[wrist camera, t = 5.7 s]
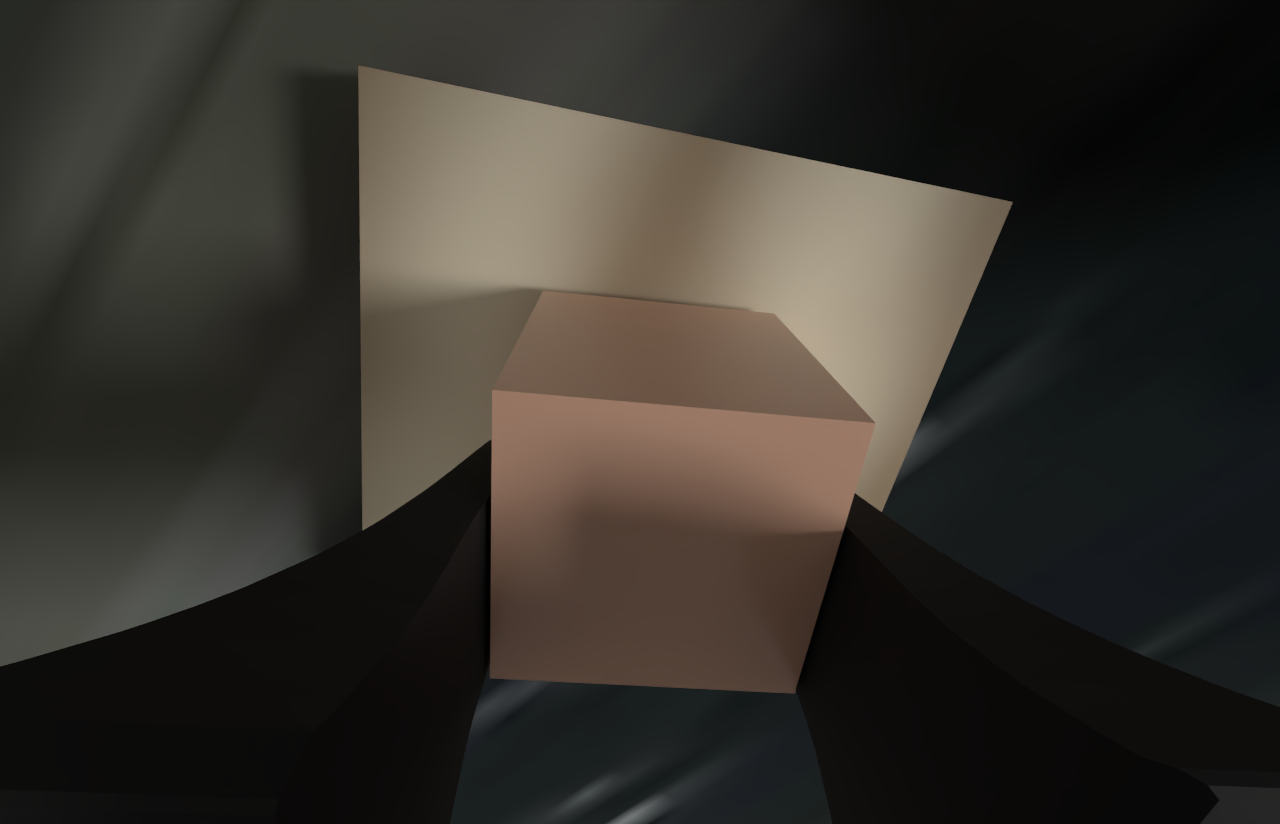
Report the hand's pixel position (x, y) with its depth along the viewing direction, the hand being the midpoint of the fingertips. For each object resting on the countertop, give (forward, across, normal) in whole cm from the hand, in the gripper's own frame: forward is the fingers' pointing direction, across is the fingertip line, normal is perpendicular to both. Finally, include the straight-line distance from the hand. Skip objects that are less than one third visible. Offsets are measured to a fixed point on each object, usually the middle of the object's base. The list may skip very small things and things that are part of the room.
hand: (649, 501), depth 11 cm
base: (+5, 0, 0) cm, 5 cm away
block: (+2, 0, -1) cm, 2 cm away
